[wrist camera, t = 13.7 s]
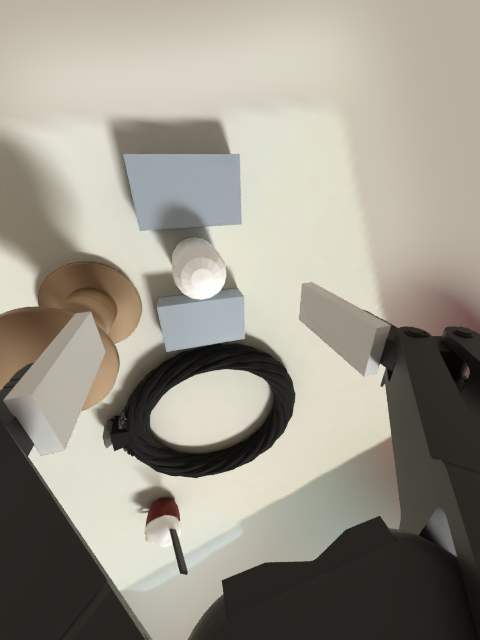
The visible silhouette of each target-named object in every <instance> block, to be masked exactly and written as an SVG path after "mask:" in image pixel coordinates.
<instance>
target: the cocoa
mask: <svg viewBox="0 0 480 640" xmlns="http://www.w3.org/2000/svg"><path fill="white" fill-rule="evenodd" d="M179 521H180V514H179V509H178V506H177V504H176V503H175V502H174V500H171V499H161V500H159V501H157V502H156V503H154V504H153V505H152V507H151V508H150V509H149V512H148V516H147V520H146V528H145V534H146V537H145V539H146V542H149V543H154V544H156V545H158V546H164V547H168V546H170V545H171V544H173V547H174V551H175V555H176V559H177V563H178V567H179V571H180V574H185V575H187V573H188V571H187V568H186V564H185V560H184V557H183V553H182V549H181V546H180V542H179V539H178V538H179V536H180V532H181V524H180V522H179Z"/></svg>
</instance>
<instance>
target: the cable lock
mask: <svg viewBox="0 0 480 640" xmlns="http://www.w3.org/2000/svg"><path fill="white" fill-rule="evenodd" d="M222 369H233V370H244V371H248V372H251V373H253V374H255V375H257V376H260V377H262V378H263V379H264V380H266V381H267V382H268V384H269V385H270V386H271V388H272V391H273V393H274V405H273V409H272V412H271V414H270V416H269V417H268V419H267V420H266V422H265V423H264V425H263V426H262V427H261V428H260V429H259V430H258V431H257V432H256V433H254V434H253V435H252V436H251V437H250V438H249V439H248V440H246V441H244V442H241V443H239V444H237V445H235V446H233V447H232V448H230V449H227V450H222V451H218V452H214V453H210V454H181V453H178V452H176V451H174V450H171V449H169V448H167V447H165V446H163V445H162V444H160V443H159V442H158V441H157V440H156V438H155V437H154V436H153V434H152V431H151V428H150V414H151V411H152V410H153V408H154V407H155V406H156V404H157V403H158V401H159V400H160V399H161V397H162V396H163V395H164V394H165V393H166V392H167V391H168V390H169V389H171V388H172V387H174V386H175V385H177V384H179V383H180V382H182V381H184V380H186V379H188V378H190V377H192V376H194V375H196V374H200V373H205V372H209V371H214V370H222ZM294 403H295V392H294V388H293V382H292V379H291V377H290V375H289V374H288V373H287V370H286V369H285V368H284V366H283V365H282V364H281V363H280V362H278V361H276V360H275V359H274V358H273V357H272V356H270V355H269V354H267V353H265V352H262V351H259V350H257V349H254V348H253V347H249V346H245V345H240V344H215V345H210V346H205V347H200V348H197V349H194V350H191V351H187V352H182V353H180V354H178V355H176V356H174V357H173V358H171V359H169V360H167V361H165V362H164V363H162V364H161V365H160V366H159V367H158V368H156V369H155V370H153V371H151V372H150V373H149V374H148V375H147V376H146V377H145V378H144V379H143V380H142V381H141V382H140V383H139V384H138V385H137V387H136V388H135V390H134V391H133V393H132V394H131V396H130V398H129V400H128V403H127V405H126V407H125V408H124V410H123V411H122V413H121V416H115V419H114V422H113V421H111V420H108V421H107V423H106V424H105V426H104V432H103V440H104V444H105V446H106V448H108V447H109V446H110V445H111V444H113V448H114V451H116V450H118V449H121V448H123V449H124V451H125V452H126V451H127V453H128V454H129V455H130V454H131V456H135V457H136V458H137V459H138V460H140V461H141V462H143V463H145V464H146V465H148V466H150V467H151V468H152V469H154V470H155V471H157V472H160V473H164V474H167V475H170V476H183V477H192V478H198V477H202V476H207V475H215V474H219V473H223V472H226V471H230V470H234V469H235V468H237V467H240V466H242V465H244V464H246V463H249V462H251V461H253V460H254V459H255V458H256V457H257V456H259V455H260V454H262V453H263V452H265V451H266V450H268V449H269V448H271V447H272V445H273V444H274V442H275V441H276V440H277V439H278V438H279V437H280V436H281V435H282V434H283V433H284V431H285V429H286V427H287V424H288V422H289V420H290V419H291V417H292V414H293V407H294Z"/></svg>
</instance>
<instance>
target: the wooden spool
mask: <svg viewBox="0 0 480 640" xmlns="http://www.w3.org/2000/svg"><path fill="white" fill-rule="evenodd" d="M38 305H39V307H25V308H19V309H14V310H11V311H7V312H5V313H3V314H0V390H1V389H3V387H4V386H5V384H6V383H7V382H9V380H10V379H11V378H12V377H13V375H14V374H15V373H16V372H17V371H19V370H20V369H22V368H23V367H25V366H26V365H27V364H29V363H35V362H36V360H37V359H38V358H39V357H40V356H41V354H42V353H43V352H44V351H45V350H46V348H47V347H48V346H49V345H50V344H51V342H52V341H53V340H54V339H55V338H56V336H57V335H58V334H59V333H60V332H61V330H62V329H63V328H64V327H65V326H66V325H67V323H68V322H69V321H70V320H71V319H72V317H73V316H74V315H75V314H76V313H83V312H91V313H92V315H93V318H94V321H95V324H96V327H97V329H98V332H99V335H100V338H101V340H102V343H103V346H104V349H105V351H106V352H105V355H104V357H103V360H102V362H101V364H100V367H99V369H98V372H97V374H96V376H95V379H94V381H93V384H92V386H91V388H90V391H89V393H88V396H87V398H86V400H85V403H84V405H83V407H82V410H81V411H83V410H86V409H88V408H90V407H92V406H94V405H96V404H97V403H99V402H100V401H101V400H103V399H104V398H105V397H106V396H107V395H108V394H109V392H110V391H111V390H112V388H113V386H114V384H115V381H116V378H117V375H118V371H119V365H120V361H119V355H118V351H117V349H116V346H115V344H116V343H118V342H120V341H122V340H124V339H126V338H127V337H128V336H130V335H131V334H132V333H133V331H134V330H135V329H136V327H137V325H138V323H139V320H140V317H141V312H142V304H141V299H140V296H139V293H138V291H137V289H136V288H135V286H134V285H133V284H132V283H131V281H130V280H129V279H128V278H127V277H125V276H124V275H123V274H121V273H120V272H118V271H117V270H115V269H113V268H111V267H109V266H106V265H103V264H99V263H94V262H77V263H72V264H68V265H65V266H63V267H61V268H59V269H58V270H56V271H54V272H53V273H51V274H50V275H49V276H48V277H47V278H46V279H45V280H44V282H43V283H42V285H41V287H40V290H39V295H38Z"/></svg>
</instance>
